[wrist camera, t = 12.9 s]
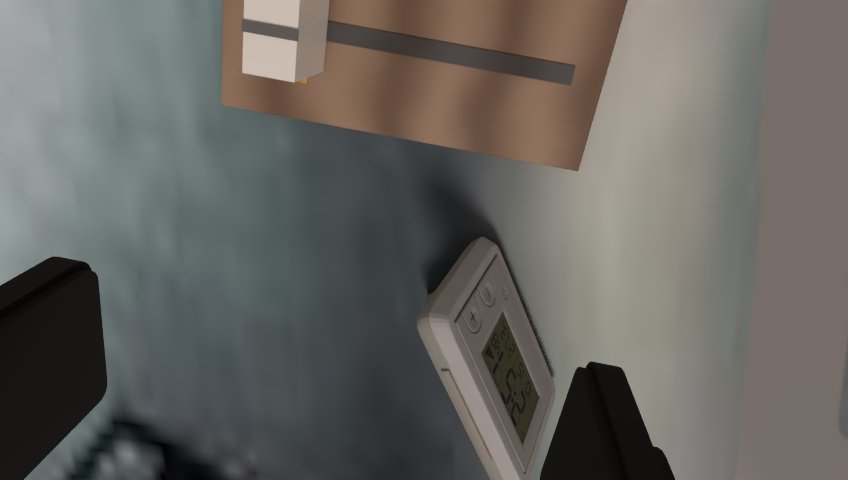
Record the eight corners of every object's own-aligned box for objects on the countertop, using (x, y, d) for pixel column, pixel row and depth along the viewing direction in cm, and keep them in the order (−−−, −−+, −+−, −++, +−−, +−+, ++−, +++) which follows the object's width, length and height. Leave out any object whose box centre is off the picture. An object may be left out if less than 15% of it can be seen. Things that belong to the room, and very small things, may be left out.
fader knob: (331, -11, 34) (301, -15, 28) (324, 71, 36) (294, 82, 30) (282, -20, 34) (243, -26, 28) (278, 63, 36) (240, 72, 30)
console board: (625, -20, 34) (634, -22, 32) (573, 163, 39) (578, 171, 37) (237, -89, 35) (223, -95, 33) (233, 100, 39) (220, 105, 37)
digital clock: (555, 396, 47) (574, 498, 37) (453, 406, 48) (445, 506, 39) (531, 224, 41) (546, 290, 31) (415, 241, 42) (395, 310, 33)
